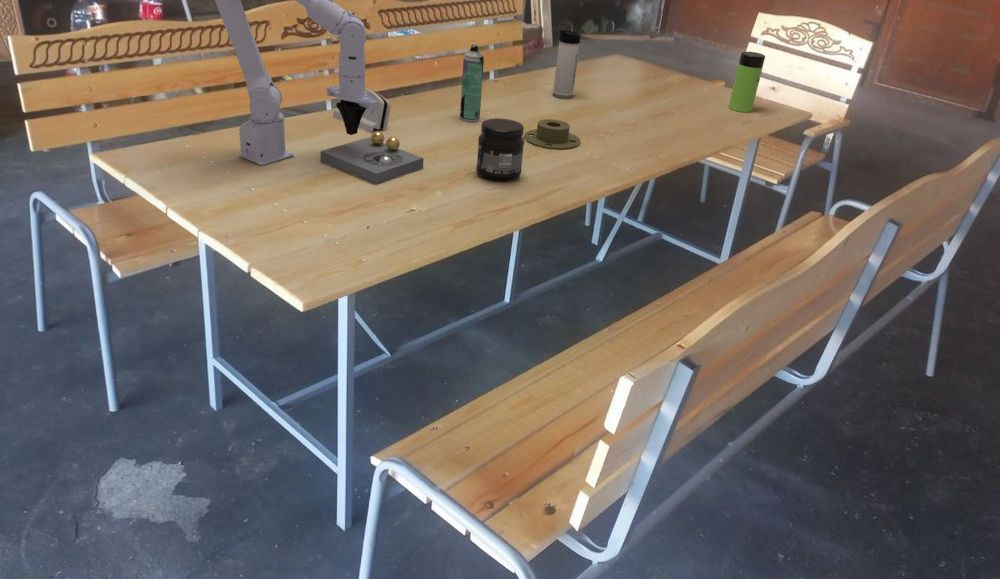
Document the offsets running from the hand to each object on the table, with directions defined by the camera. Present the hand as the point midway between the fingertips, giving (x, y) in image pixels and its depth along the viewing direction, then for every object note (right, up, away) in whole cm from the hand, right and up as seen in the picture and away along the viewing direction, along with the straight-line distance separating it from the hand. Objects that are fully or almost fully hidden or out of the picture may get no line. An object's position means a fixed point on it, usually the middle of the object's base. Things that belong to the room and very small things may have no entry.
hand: (351, 133), depth 180 cm
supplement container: (+34, -10, +1) cm, 35 cm away
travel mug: (+54, +24, +64) cm, 87 cm away
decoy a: (+5, 0, +4) cm, 7 cm away
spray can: (+26, +11, +36) cm, 46 cm away
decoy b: (+9, -2, +1) cm, 10 cm away
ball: (+8, -7, -3) cm, 11 cm away
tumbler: (+111, +21, +69) cm, 132 cm away
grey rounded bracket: (-2, +8, +26) cm, 27 cm away
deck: (+5, -7, 0) cm, 9 cm away
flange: (+48, +3, +27) cm, 55 cm away
